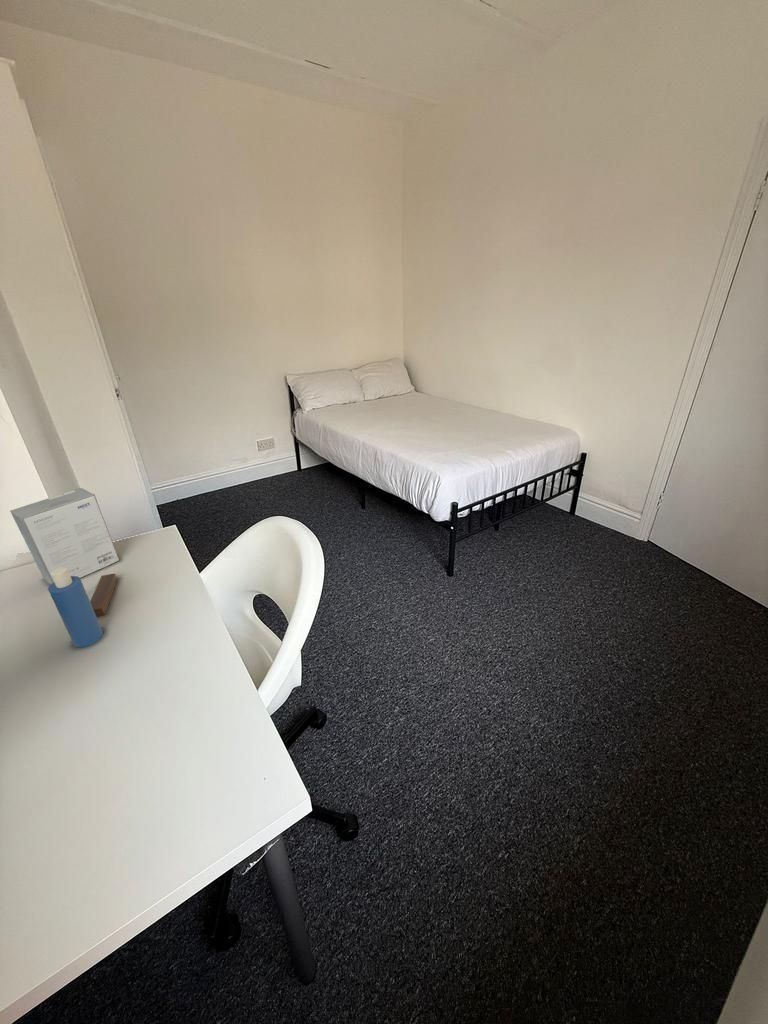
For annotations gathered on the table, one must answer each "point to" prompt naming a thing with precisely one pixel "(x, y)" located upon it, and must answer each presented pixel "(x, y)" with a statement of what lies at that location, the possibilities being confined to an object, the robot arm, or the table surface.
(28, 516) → the hard drive box
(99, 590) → the walnut bar
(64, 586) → the blue bottle
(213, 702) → the table surface
